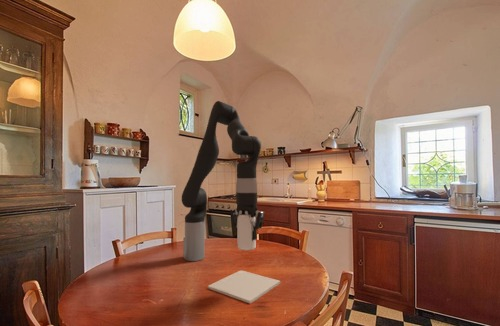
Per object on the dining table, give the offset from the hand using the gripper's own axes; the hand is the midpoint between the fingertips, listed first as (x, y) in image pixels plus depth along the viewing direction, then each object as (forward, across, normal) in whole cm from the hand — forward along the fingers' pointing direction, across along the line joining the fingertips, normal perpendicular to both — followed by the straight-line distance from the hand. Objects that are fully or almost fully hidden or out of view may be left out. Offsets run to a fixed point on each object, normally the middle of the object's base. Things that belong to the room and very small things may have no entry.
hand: (246, 239), depth 86 cm
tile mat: (+16, -1, 0) cm, 16 cm away
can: (+3, 0, 0) cm, 3 cm away
